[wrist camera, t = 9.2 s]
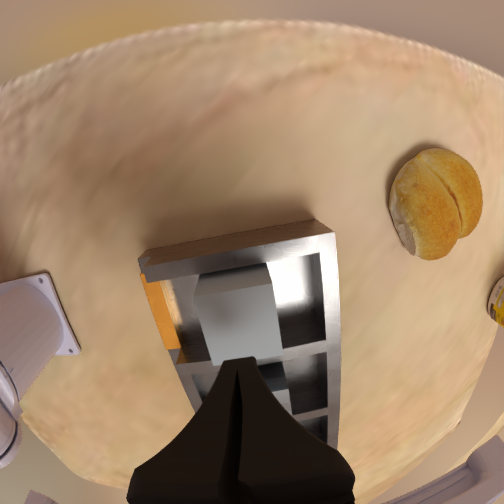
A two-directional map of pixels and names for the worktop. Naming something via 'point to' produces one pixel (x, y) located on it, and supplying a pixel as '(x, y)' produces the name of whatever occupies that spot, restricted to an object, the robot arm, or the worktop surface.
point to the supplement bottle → (497, 303)
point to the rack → (288, 311)
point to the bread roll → (435, 202)
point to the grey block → (238, 313)
